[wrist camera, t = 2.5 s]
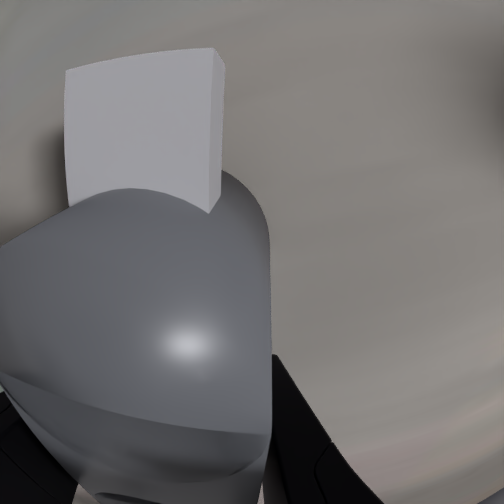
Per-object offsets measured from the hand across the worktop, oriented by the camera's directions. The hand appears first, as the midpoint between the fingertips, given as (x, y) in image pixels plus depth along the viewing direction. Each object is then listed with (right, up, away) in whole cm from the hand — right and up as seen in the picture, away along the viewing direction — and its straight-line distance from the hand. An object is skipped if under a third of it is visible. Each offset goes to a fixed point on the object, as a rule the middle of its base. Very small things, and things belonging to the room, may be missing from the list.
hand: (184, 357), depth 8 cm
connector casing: (0, +1, +1) cm, 1 cm away
